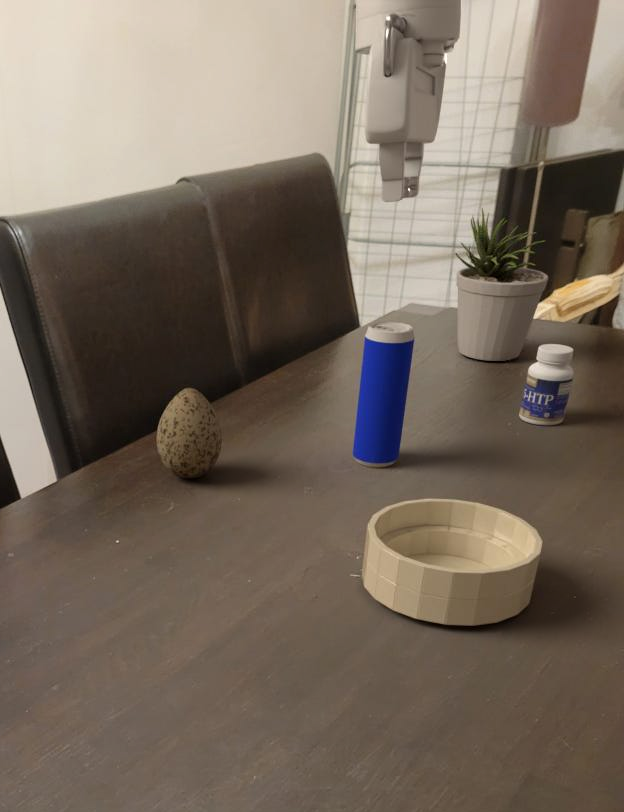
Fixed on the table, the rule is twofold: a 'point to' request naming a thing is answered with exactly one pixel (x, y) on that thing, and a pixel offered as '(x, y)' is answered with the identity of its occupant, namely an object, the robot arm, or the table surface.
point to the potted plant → (496, 297)
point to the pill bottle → (547, 386)
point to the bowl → (450, 561)
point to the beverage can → (383, 393)
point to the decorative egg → (189, 435)
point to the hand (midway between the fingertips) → (400, 199)
